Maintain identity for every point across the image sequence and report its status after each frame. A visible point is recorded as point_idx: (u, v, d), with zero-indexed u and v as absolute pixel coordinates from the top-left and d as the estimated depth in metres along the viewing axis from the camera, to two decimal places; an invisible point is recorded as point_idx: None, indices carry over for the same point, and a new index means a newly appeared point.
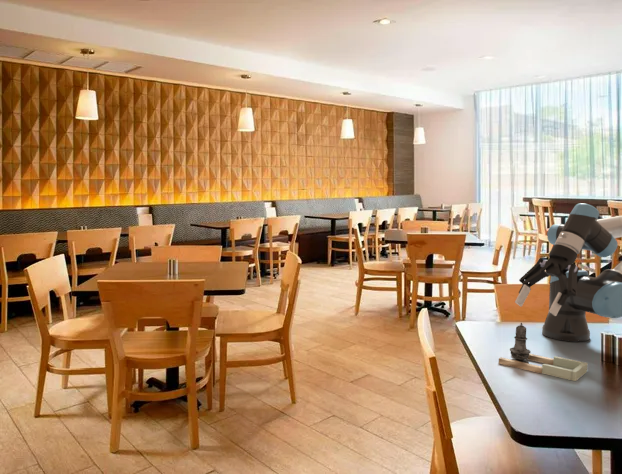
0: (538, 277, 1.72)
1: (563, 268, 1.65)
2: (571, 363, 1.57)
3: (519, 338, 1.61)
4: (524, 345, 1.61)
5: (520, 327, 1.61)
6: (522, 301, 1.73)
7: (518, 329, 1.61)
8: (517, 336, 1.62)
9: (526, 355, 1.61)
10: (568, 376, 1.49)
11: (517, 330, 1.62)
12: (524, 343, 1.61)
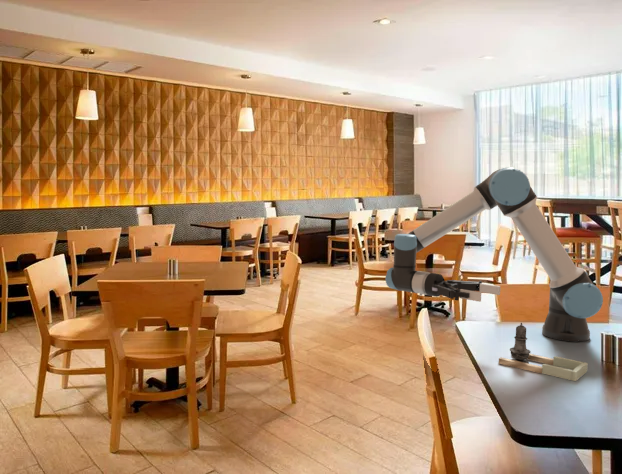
0: (465, 287, 1.78)
1: None
2: (571, 363, 1.57)
3: (519, 338, 1.61)
4: (524, 345, 1.61)
5: (520, 327, 1.61)
6: (494, 287, 1.74)
7: (518, 329, 1.61)
8: (517, 336, 1.62)
9: (526, 355, 1.61)
10: (568, 376, 1.49)
11: (517, 330, 1.62)
12: (524, 343, 1.61)
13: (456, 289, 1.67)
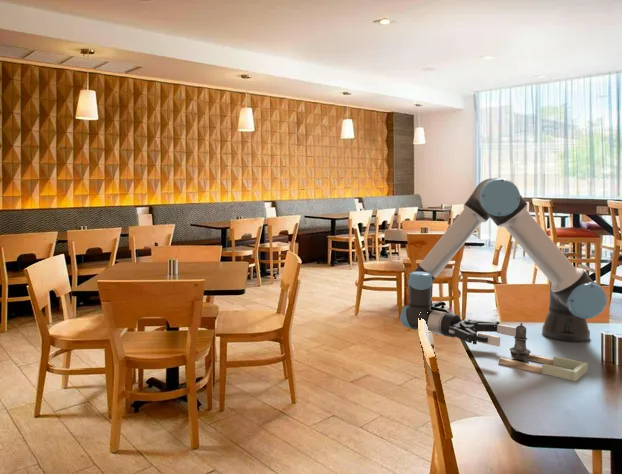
0: (483, 328, 1.75)
1: None
2: (571, 363, 1.57)
3: (519, 338, 1.61)
4: (524, 345, 1.61)
5: (520, 327, 1.61)
6: (512, 329, 1.70)
7: (518, 329, 1.61)
8: (517, 336, 1.62)
9: (526, 355, 1.61)
10: (568, 376, 1.49)
11: (517, 330, 1.62)
12: (524, 343, 1.61)
13: (474, 333, 1.63)
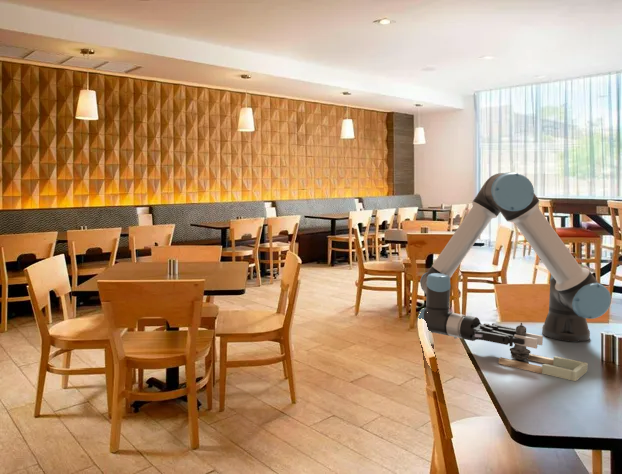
0: None
1: None
2: (571, 363, 1.57)
3: None
4: None
5: (520, 327, 1.61)
6: (536, 337, 1.61)
7: (518, 329, 1.61)
8: None
9: (526, 355, 1.61)
10: (568, 376, 1.49)
11: (517, 330, 1.62)
12: None
13: (510, 335, 1.61)
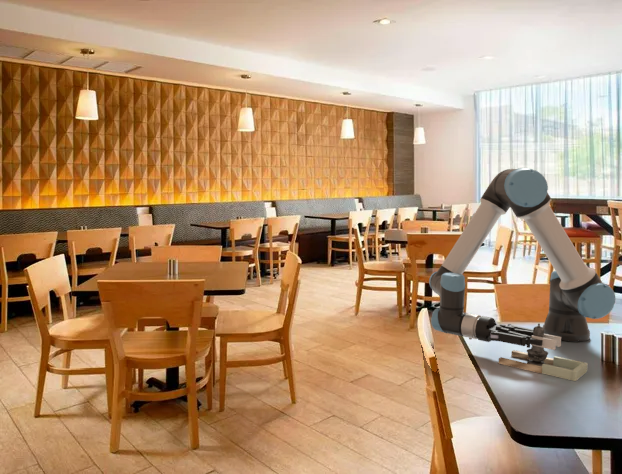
0: None
1: None
2: (571, 363, 1.57)
3: None
4: None
5: (538, 328, 1.57)
6: (554, 338, 1.57)
7: (536, 330, 1.58)
8: None
9: (544, 357, 1.57)
10: (568, 376, 1.49)
11: (534, 331, 1.58)
12: None
13: (528, 336, 1.57)
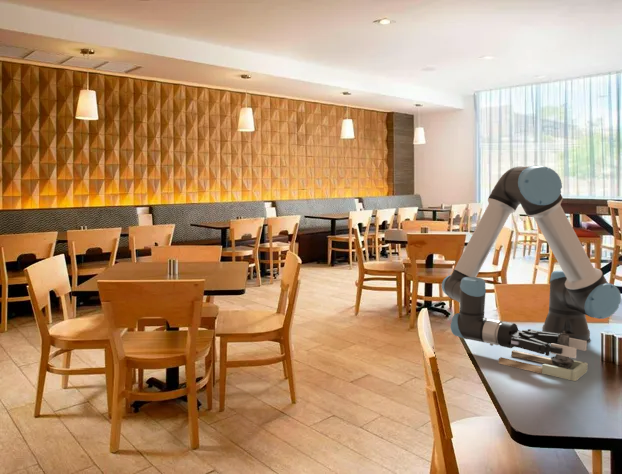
0: (544, 339, 1.61)
1: None
2: None
3: None
4: None
5: (563, 335, 1.53)
6: (580, 342, 1.55)
7: (561, 337, 1.53)
8: (559, 344, 1.54)
9: (569, 365, 1.53)
10: (568, 376, 1.49)
11: (560, 338, 1.54)
12: None
13: (547, 343, 1.52)
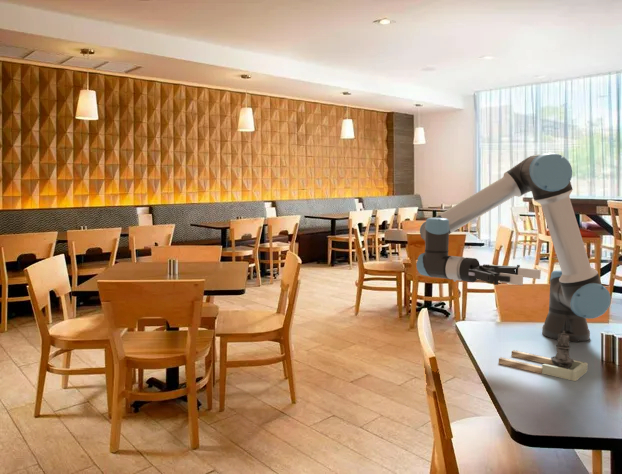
0: (503, 272, 1.69)
1: None
2: None
3: (562, 347, 1.53)
4: (567, 354, 1.54)
5: (563, 335, 1.53)
6: (534, 271, 1.65)
7: (561, 337, 1.53)
8: (559, 344, 1.54)
9: (569, 365, 1.53)
10: (568, 376, 1.49)
11: (560, 338, 1.54)
12: (567, 352, 1.53)
13: (495, 273, 1.58)
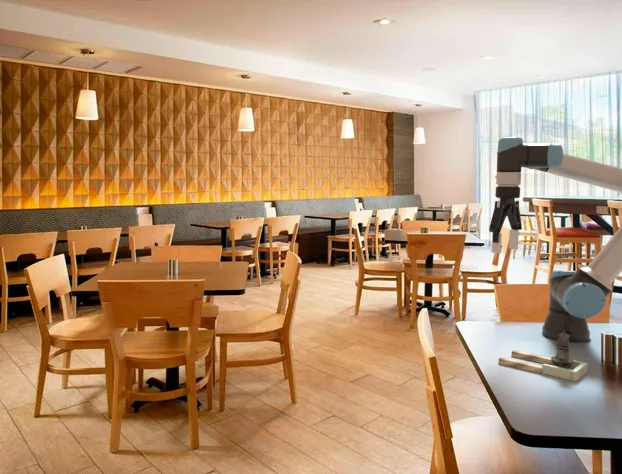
0: (511, 219, 1.82)
1: None
2: None
3: (562, 347, 1.53)
4: (567, 354, 1.54)
5: (563, 335, 1.53)
6: (515, 244, 1.84)
7: (561, 337, 1.53)
8: (559, 344, 1.54)
9: (569, 365, 1.53)
10: (568, 376, 1.49)
11: (559, 338, 1.54)
12: (567, 352, 1.53)
13: (499, 230, 1.73)
